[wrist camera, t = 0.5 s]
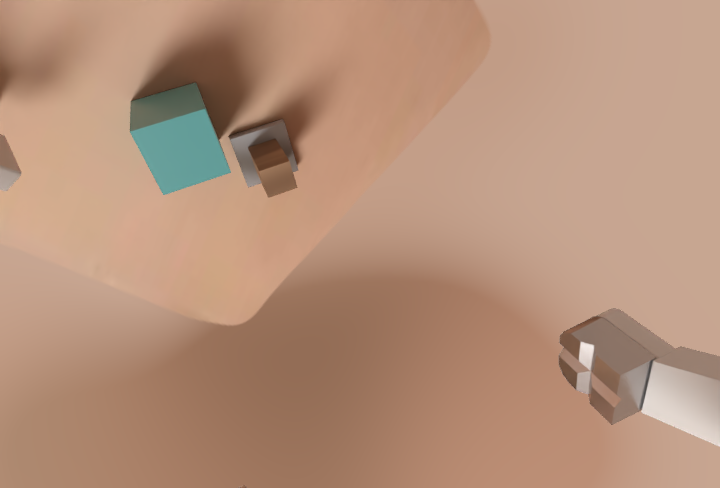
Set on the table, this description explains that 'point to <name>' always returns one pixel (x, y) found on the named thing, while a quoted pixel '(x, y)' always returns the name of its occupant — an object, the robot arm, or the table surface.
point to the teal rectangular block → (177, 138)
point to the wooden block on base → (266, 157)
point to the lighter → (7, 165)
